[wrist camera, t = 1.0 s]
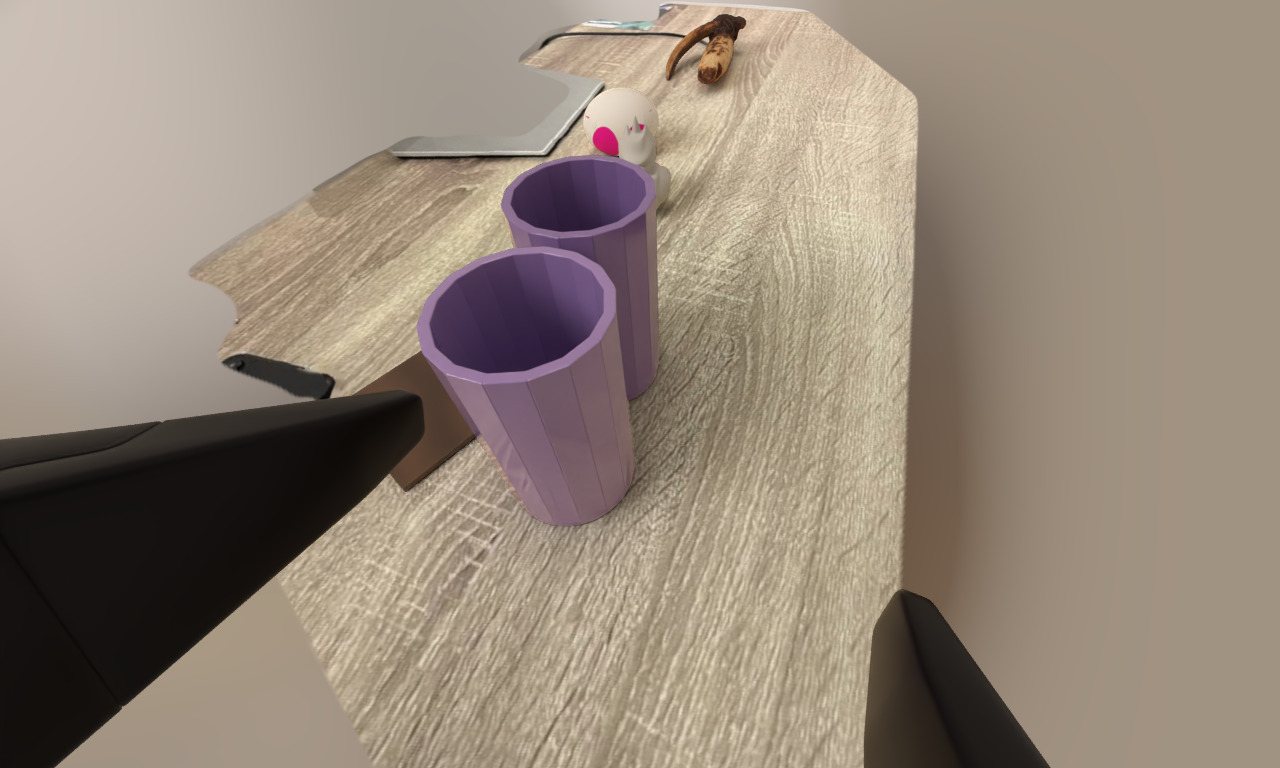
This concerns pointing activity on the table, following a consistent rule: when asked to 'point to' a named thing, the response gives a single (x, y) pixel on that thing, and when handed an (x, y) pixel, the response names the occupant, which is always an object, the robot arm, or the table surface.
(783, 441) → the table surface
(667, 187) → the rubber duck
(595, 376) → the tumbler
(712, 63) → the lashed bone hook
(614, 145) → the stress ball
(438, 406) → the coaster
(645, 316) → the tumbler
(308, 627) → the table surface
